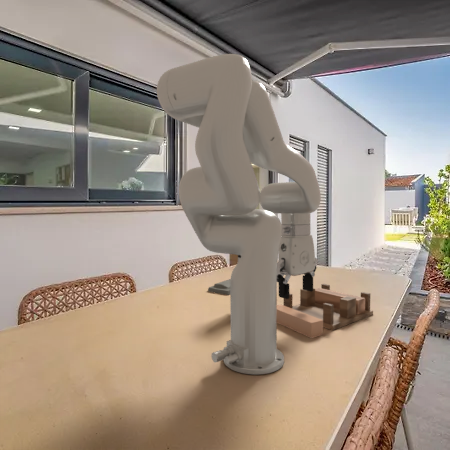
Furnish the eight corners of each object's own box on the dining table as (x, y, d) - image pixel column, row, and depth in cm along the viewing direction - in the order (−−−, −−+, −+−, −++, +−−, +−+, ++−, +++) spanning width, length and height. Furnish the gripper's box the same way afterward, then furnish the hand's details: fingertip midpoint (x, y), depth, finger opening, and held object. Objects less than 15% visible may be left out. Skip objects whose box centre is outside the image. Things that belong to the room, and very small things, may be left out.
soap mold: (256, 286, 141) (256, 277, 141) (228, 296, 124) (228, 287, 124) (235, 282, 147) (235, 274, 146) (206, 292, 130) (206, 283, 130)
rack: (332, 330, 89) (333, 306, 89) (281, 313, 103) (281, 292, 103) (373, 314, 101) (373, 293, 101) (321, 301, 116) (321, 283, 115)
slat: (322, 335, 86) (323, 320, 86) (311, 339, 84) (311, 323, 84) (280, 318, 100) (280, 304, 100) (270, 320, 98) (270, 306, 98)
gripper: (284, 234, 82) (285, 304, 84) (327, 228, 93) (327, 290, 95) (262, 232, 88) (263, 297, 90) (305, 227, 99) (305, 285, 101)
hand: (296, 294), depth 92 cm, fingers open, 9 cm apart
